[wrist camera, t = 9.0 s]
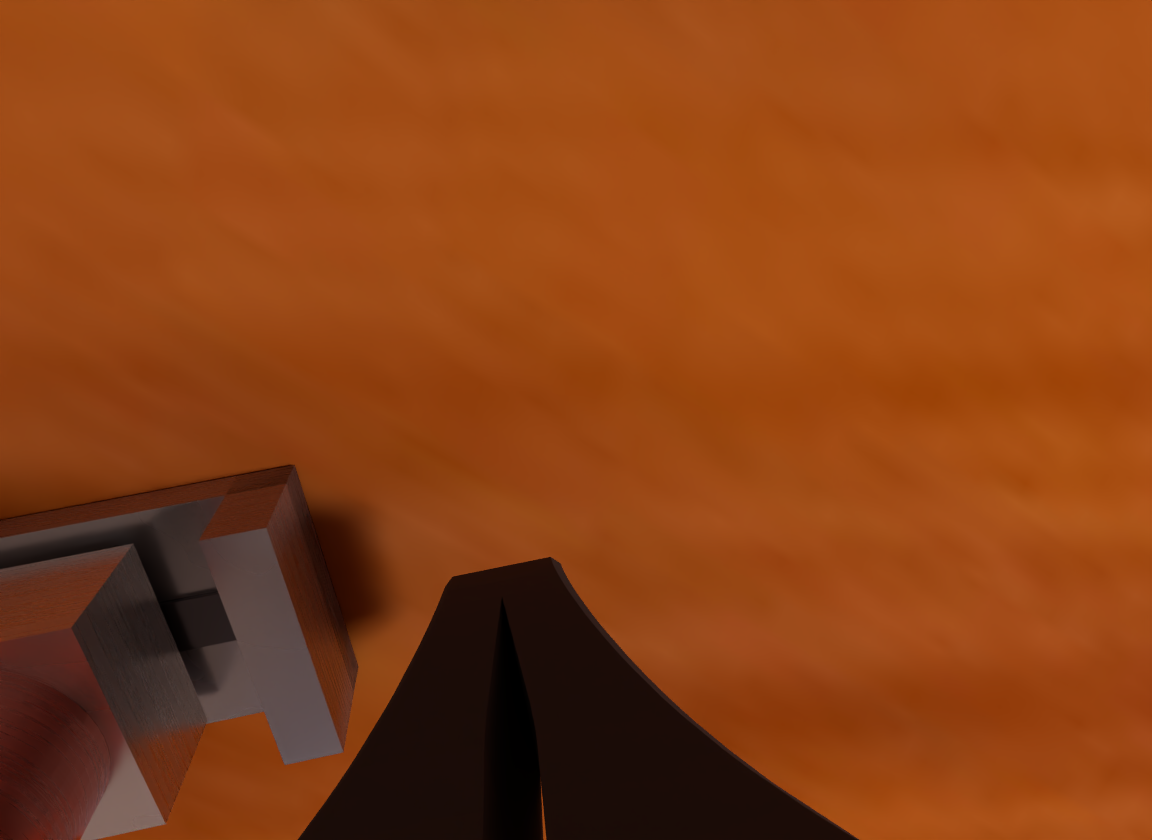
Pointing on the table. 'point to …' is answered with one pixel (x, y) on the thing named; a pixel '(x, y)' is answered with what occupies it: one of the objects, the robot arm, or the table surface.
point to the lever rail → (228, 596)
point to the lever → (90, 700)
